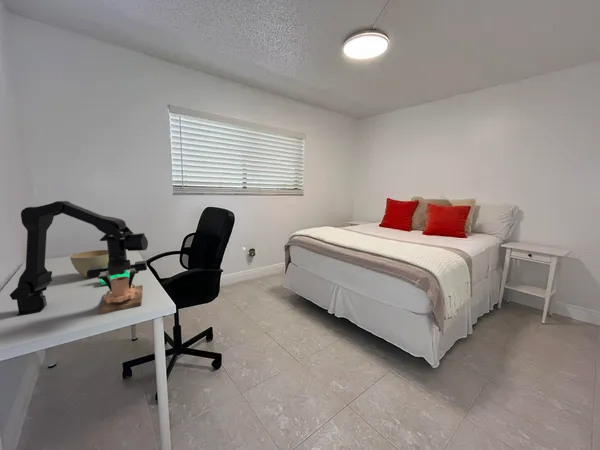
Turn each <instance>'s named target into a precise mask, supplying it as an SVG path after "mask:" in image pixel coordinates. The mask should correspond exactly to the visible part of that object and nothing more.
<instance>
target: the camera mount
mask: <svg viewBox="0 0 600 450" xmlns="http://www.w3.org/2000/svg"><path fill="white" fill-rule="evenodd" d="M106 268H108V265H107V267H106ZM129 273H130V271H129V270H125V273H124V274H116V275H112V276H110V278H111V279H114V278H116V277H123V276H126V277H129ZM99 283H100V285H101V286H104V285H107V284H106V283H105V281H104V280H102V279H99Z"/></svg>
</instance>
